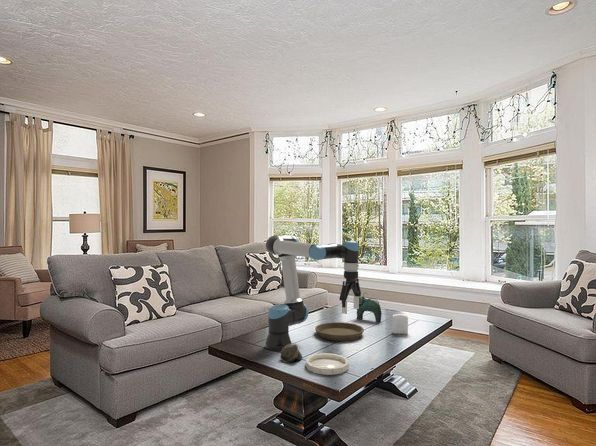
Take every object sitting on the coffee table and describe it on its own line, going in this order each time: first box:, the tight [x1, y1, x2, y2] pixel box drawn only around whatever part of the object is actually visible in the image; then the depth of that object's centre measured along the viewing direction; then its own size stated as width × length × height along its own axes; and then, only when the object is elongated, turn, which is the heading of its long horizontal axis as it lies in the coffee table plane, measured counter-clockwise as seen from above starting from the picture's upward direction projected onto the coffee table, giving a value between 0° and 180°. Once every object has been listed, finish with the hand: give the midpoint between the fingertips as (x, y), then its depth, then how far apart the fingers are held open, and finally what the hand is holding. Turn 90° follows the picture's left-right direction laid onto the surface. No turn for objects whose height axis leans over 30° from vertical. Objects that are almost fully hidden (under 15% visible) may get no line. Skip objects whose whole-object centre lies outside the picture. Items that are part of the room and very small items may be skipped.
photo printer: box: [391, 313, 409, 335], centre depth 242 cm, size 10×4×12 cm, turn 84°
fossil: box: [280, 343, 303, 364], centre depth 195 cm, size 11×9×10 cm
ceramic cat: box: [356, 292, 382, 323], centre depth 275 cm, size 20×6×20 cm, turn 55°
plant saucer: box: [314, 321, 365, 342], centre depth 239 cm, size 31×31×5 cm
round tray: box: [305, 352, 350, 376], centre depth 186 cm, size 21×21×3 cm
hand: (350, 310), depth 197 cm, fingers open, 13 cm apart
